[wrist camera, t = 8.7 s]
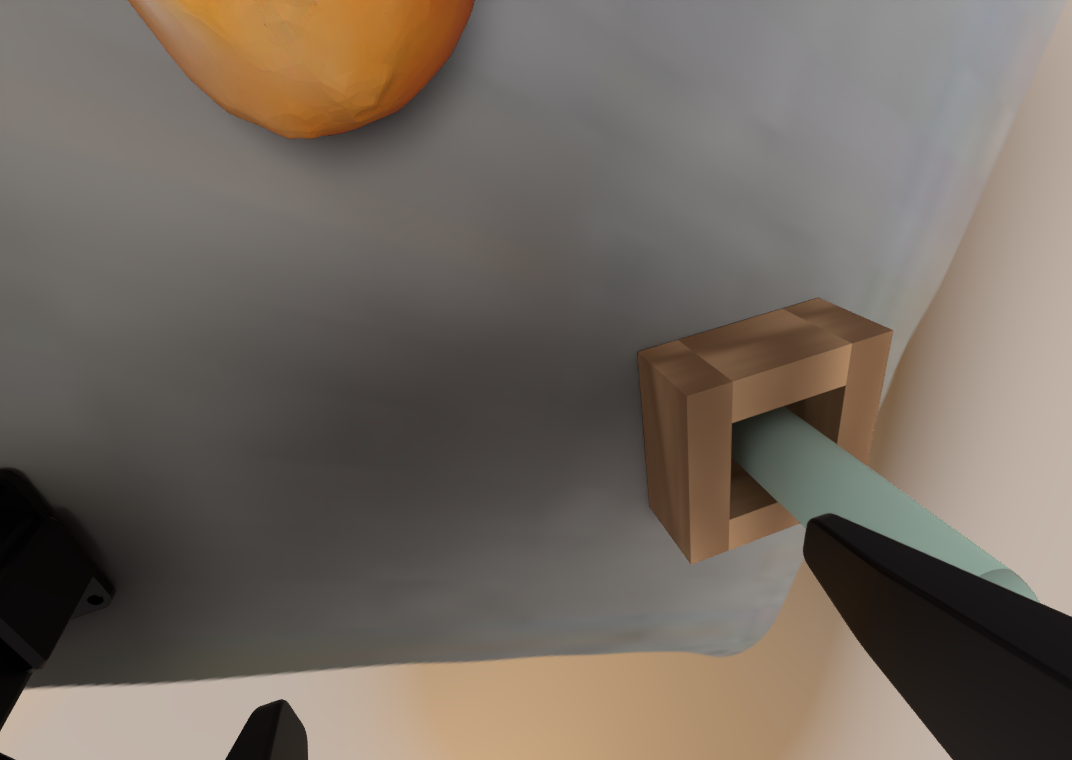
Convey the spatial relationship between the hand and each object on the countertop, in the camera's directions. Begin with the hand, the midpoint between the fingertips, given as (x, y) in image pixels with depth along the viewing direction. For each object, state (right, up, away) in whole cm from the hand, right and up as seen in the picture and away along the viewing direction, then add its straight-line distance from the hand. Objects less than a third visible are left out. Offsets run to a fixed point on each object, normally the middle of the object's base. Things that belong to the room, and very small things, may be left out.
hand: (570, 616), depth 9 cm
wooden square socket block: (+9, +2, +17) cm, 19 cm away
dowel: (+9, +2, +17) cm, 19 cm away
